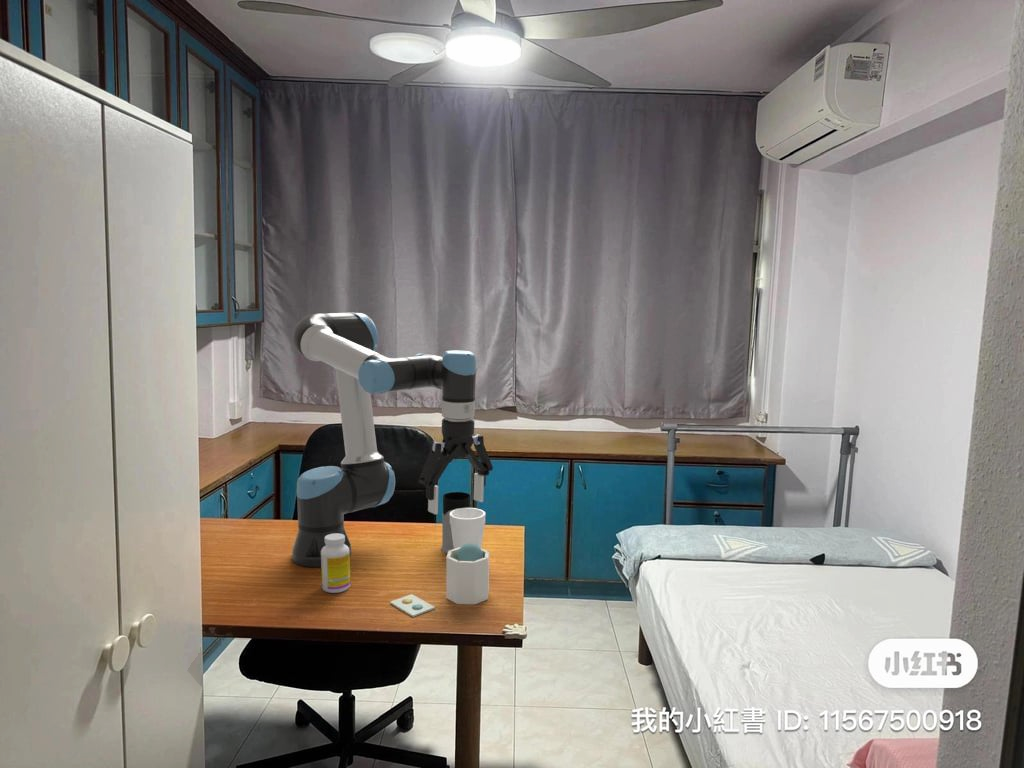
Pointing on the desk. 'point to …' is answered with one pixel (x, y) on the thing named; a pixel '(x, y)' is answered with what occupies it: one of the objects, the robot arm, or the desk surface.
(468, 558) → the ball teal
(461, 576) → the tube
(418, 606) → the card
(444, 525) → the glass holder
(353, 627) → the desk surface
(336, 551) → the supplement bottle
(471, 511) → the foam cup
